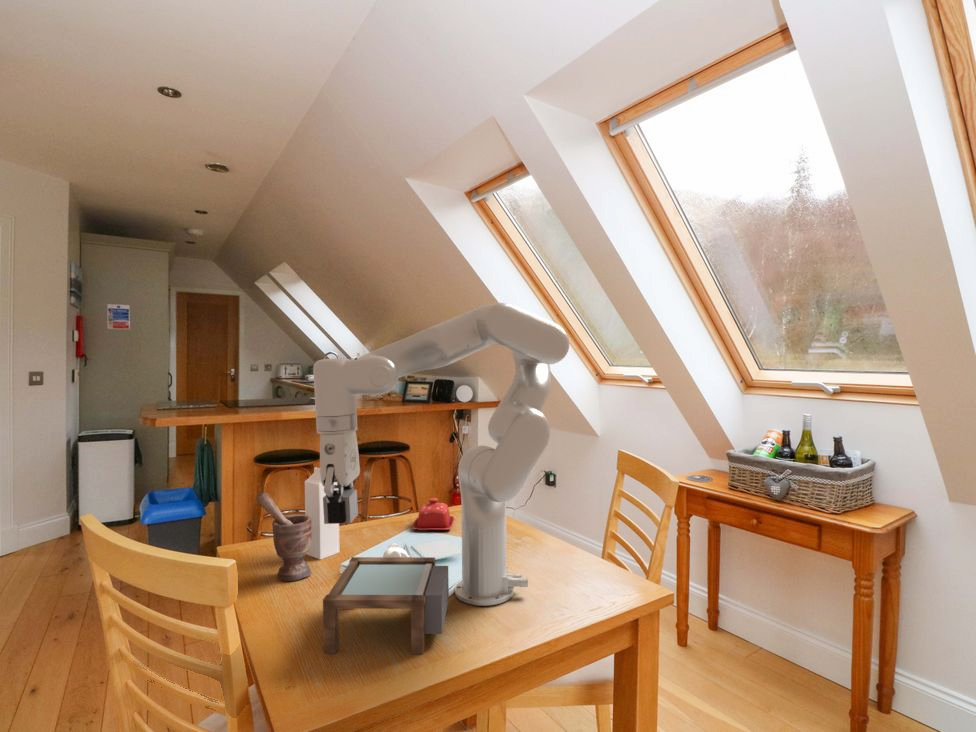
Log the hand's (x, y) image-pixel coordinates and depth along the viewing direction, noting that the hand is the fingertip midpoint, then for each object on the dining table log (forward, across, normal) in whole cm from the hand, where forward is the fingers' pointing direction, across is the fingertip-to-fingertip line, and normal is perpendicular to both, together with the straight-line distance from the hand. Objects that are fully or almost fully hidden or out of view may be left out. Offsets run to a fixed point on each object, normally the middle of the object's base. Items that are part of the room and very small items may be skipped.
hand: (341, 516), depth 106 cm
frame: (+21, -2, -8) cm, 22 cm away
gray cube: (+1, 0, 0) cm, 1 cm away
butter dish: (+22, +56, -9) cm, 61 cm away
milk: (+21, +34, +16) cm, 43 cm away
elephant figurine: (+21, +23, -5) cm, 32 cm away
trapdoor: (+19, -2, -10) cm, 22 cm away
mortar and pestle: (+21, +20, +20) cm, 35 cm away
